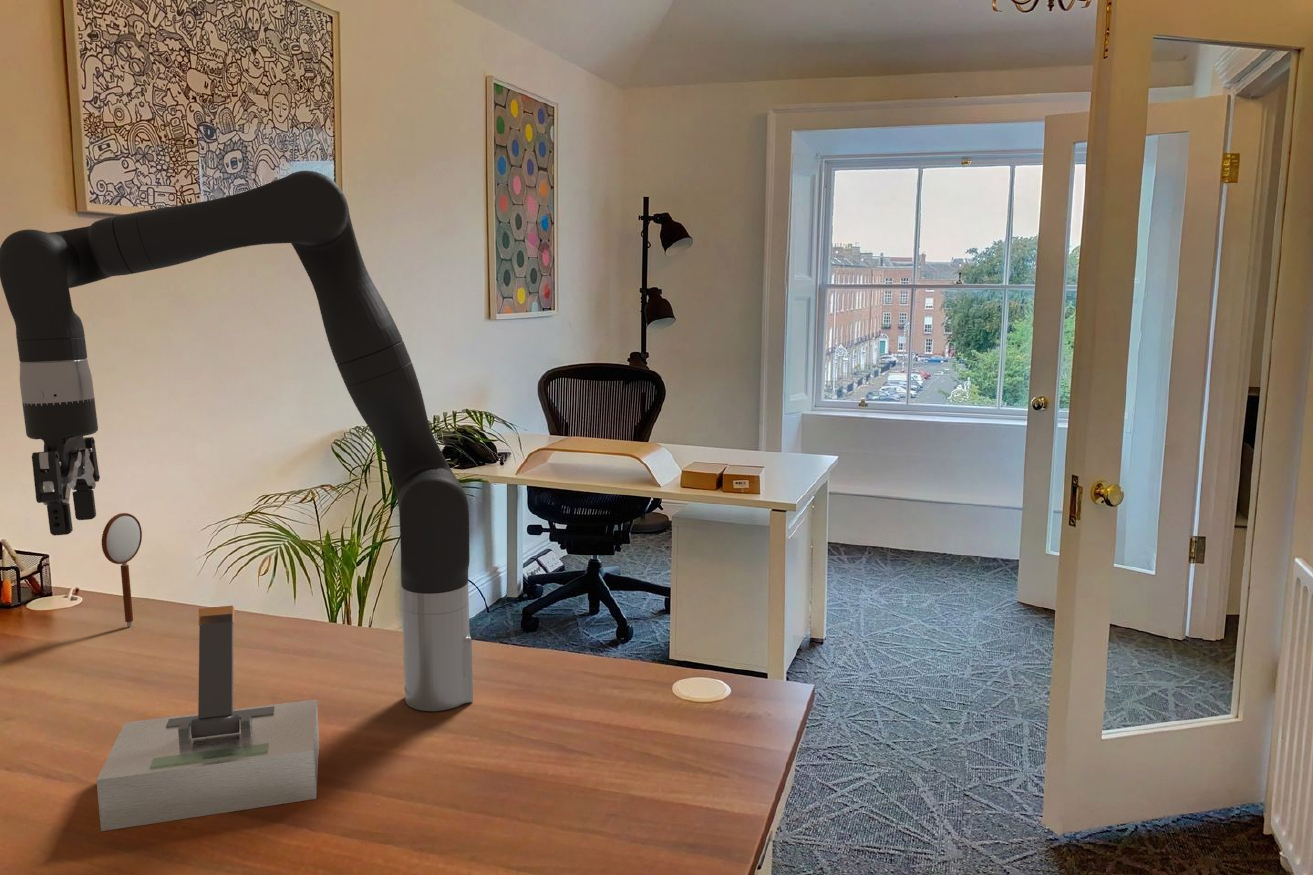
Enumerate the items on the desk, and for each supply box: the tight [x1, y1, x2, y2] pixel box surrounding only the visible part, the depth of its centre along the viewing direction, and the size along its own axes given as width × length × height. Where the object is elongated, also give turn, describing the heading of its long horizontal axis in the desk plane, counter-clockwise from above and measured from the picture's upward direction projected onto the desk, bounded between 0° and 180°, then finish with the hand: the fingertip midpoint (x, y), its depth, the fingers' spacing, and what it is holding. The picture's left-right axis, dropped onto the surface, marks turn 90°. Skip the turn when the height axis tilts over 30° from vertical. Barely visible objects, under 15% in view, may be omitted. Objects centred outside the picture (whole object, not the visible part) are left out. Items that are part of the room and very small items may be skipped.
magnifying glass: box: [101, 512, 143, 627], centre depth 160 cm, size 9×2×20 cm, turn 170°
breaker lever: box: [191, 605, 240, 738], centre depth 113 cm, size 5×2×15 cm, turn 108°
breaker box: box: [95, 699, 320, 832], centre depth 111 cm, size 22×14×8 cm, turn 108°
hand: (74, 526), depth 117 cm, fingers open, 8 cm apart
